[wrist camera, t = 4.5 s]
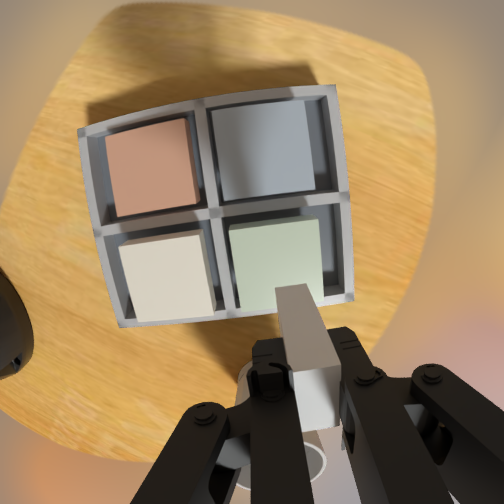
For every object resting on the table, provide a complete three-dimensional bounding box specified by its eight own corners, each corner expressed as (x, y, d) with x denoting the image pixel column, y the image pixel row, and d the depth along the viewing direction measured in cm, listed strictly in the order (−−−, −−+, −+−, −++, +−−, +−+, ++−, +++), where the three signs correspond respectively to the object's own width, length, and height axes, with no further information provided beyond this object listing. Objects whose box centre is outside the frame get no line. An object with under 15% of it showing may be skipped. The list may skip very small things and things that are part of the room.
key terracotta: (127, 212, 24) (117, 216, 22) (115, 138, 22) (104, 136, 20) (200, 200, 24) (196, 203, 22) (189, 121, 22) (183, 118, 20)
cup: (214, 379, 32) (202, 468, 20) (269, 335, 30) (280, 424, 19) (266, 416, 33) (272, 500, 22) (320, 378, 32) (346, 463, 20)
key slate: (226, 197, 23) (224, 200, 21) (214, 115, 21) (211, 110, 19) (309, 187, 22) (315, 189, 21) (299, 105, 21) (303, 100, 19)
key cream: (145, 311, 25) (138, 322, 23) (127, 240, 23) (118, 246, 21) (216, 303, 25) (214, 315, 23) (203, 228, 23) (199, 234, 21)
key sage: (241, 300, 25) (241, 312, 23) (230, 224, 23) (228, 230, 21) (318, 290, 25) (323, 301, 23) (312, 214, 23) (318, 219, 21)
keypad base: (133, 308, 29) (119, 327, 26) (98, 132, 25) (77, 129, 21) (341, 283, 29) (354, 300, 25) (323, 94, 24) (335, 84, 21)
